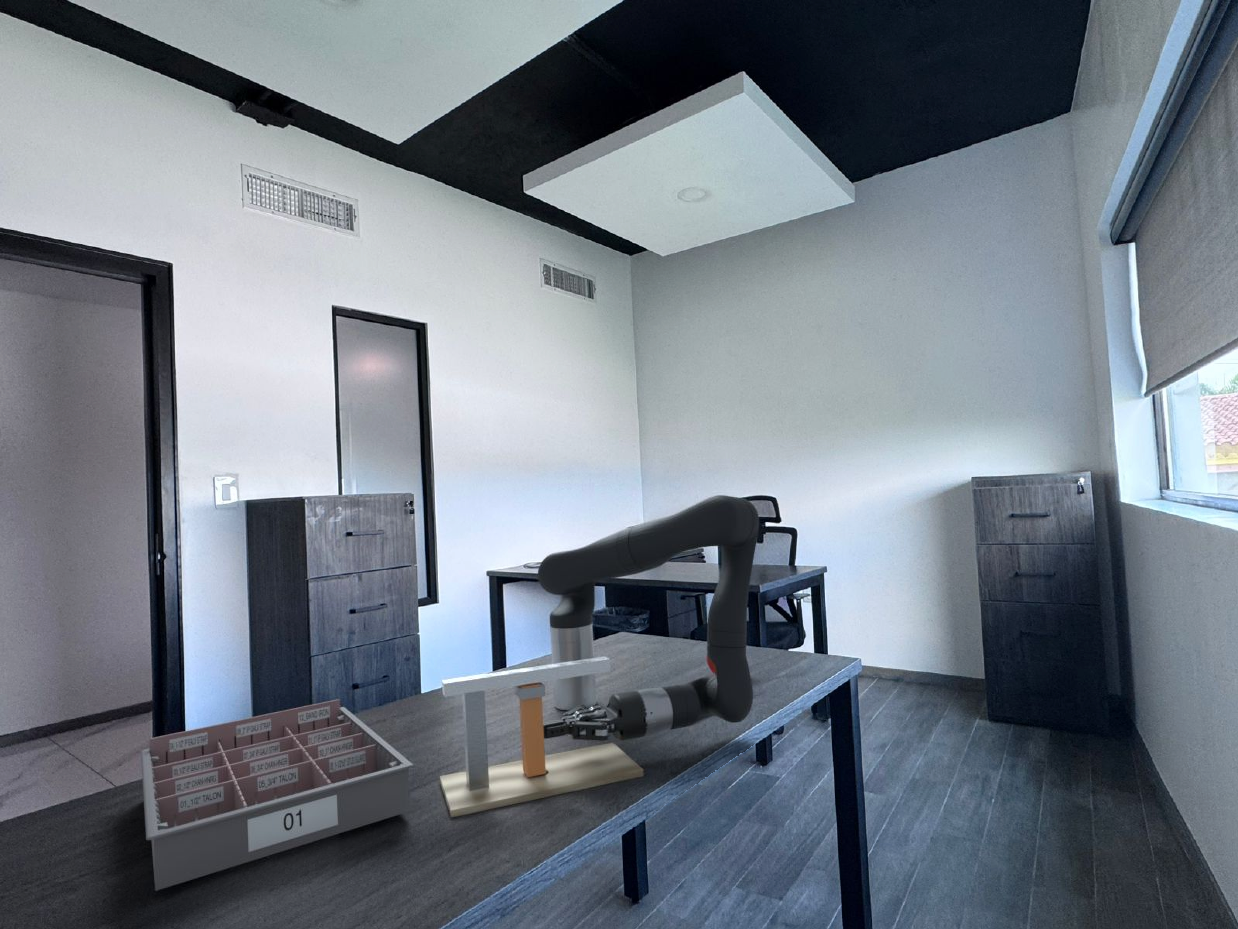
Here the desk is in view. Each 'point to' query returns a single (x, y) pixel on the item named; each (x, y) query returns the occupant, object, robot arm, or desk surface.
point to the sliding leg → (532, 728)
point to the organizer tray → (264, 788)
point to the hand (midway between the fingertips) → (541, 731)
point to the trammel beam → (477, 684)
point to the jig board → (540, 779)
